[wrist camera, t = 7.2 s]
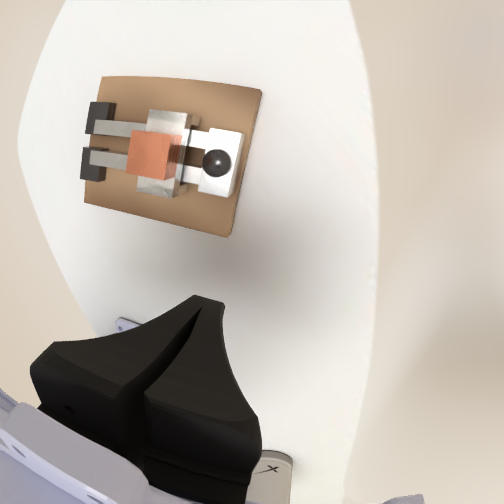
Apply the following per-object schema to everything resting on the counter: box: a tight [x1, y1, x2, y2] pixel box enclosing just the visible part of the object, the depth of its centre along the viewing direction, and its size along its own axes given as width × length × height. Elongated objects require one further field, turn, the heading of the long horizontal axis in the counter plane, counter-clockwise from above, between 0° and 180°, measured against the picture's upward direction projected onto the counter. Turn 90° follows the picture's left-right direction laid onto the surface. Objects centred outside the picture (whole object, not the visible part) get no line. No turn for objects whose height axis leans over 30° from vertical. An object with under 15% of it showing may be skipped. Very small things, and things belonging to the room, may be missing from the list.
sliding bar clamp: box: [80, 102, 246, 198], centre depth 17 cm, size 6×12×3 cm, turn 78°
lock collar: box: [126, 109, 201, 199], centre depth 16 cm, size 5×2×4 cm, turn 167°
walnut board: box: [84, 76, 262, 238], centre depth 19 cm, size 10×12×1 cm
